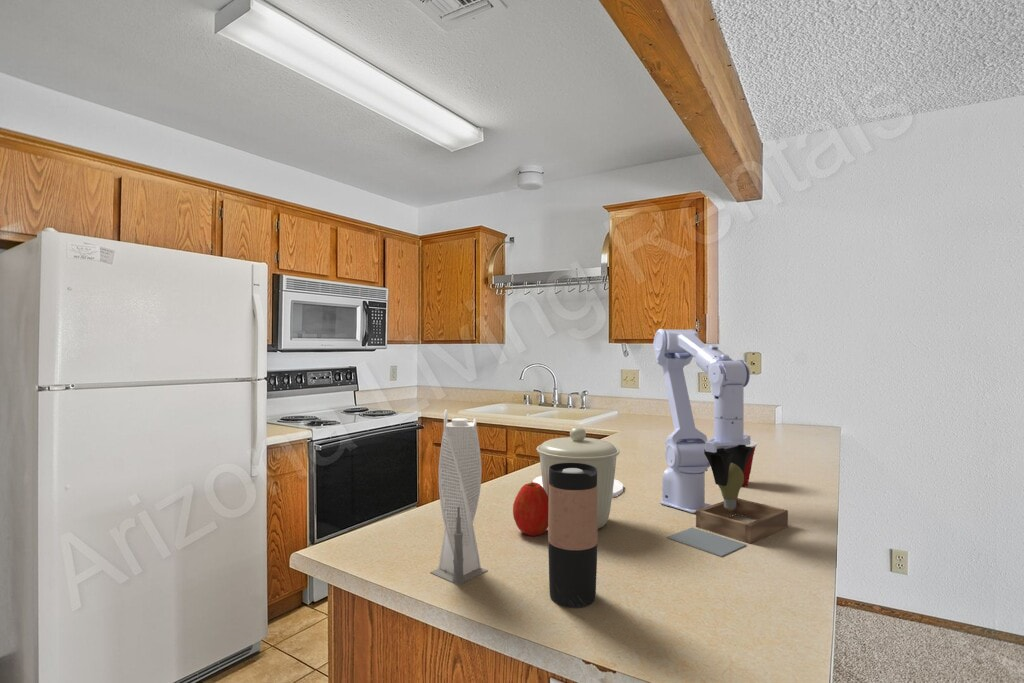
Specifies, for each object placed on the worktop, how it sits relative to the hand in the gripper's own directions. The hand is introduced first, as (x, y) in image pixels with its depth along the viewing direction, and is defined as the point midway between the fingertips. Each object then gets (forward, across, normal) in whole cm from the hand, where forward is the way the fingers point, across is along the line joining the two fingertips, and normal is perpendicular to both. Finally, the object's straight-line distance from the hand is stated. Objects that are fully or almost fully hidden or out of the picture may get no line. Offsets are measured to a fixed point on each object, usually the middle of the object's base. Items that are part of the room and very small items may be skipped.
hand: (728, 482), depth 109 cm
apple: (+11, -32, +25) cm, 42 cm away
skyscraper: (+11, -54, +20) cm, 59 cm away
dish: (+11, 0, +44) cm, 45 cm away
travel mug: (+11, -46, 0) cm, 47 cm away
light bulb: (+6, 0, 0) cm, 6 cm away
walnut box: (+10, +6, 0) cm, 12 cm away
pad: (+10, -8, 0) cm, 13 cm away
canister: (+11, -21, +23) cm, 33 cm away
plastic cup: (+11, +38, +19) cm, 43 cm away
